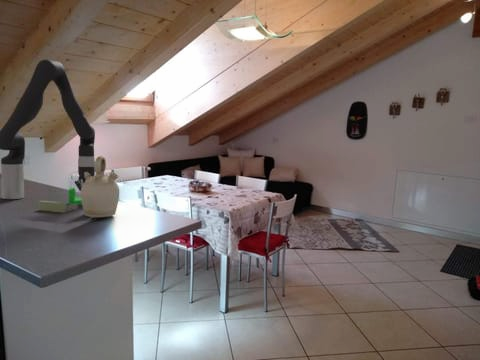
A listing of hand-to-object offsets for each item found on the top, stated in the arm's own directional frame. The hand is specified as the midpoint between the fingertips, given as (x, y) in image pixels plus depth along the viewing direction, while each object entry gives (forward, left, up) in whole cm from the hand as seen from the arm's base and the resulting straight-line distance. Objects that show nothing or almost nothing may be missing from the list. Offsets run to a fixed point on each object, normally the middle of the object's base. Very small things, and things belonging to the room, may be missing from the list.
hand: (86, 200), depth 172 cm
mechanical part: (-5, -1, -2) cm, 5 cm away
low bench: (0, -16, -2) cm, 16 cm away
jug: (+22, -19, -2) cm, 29 cm away
